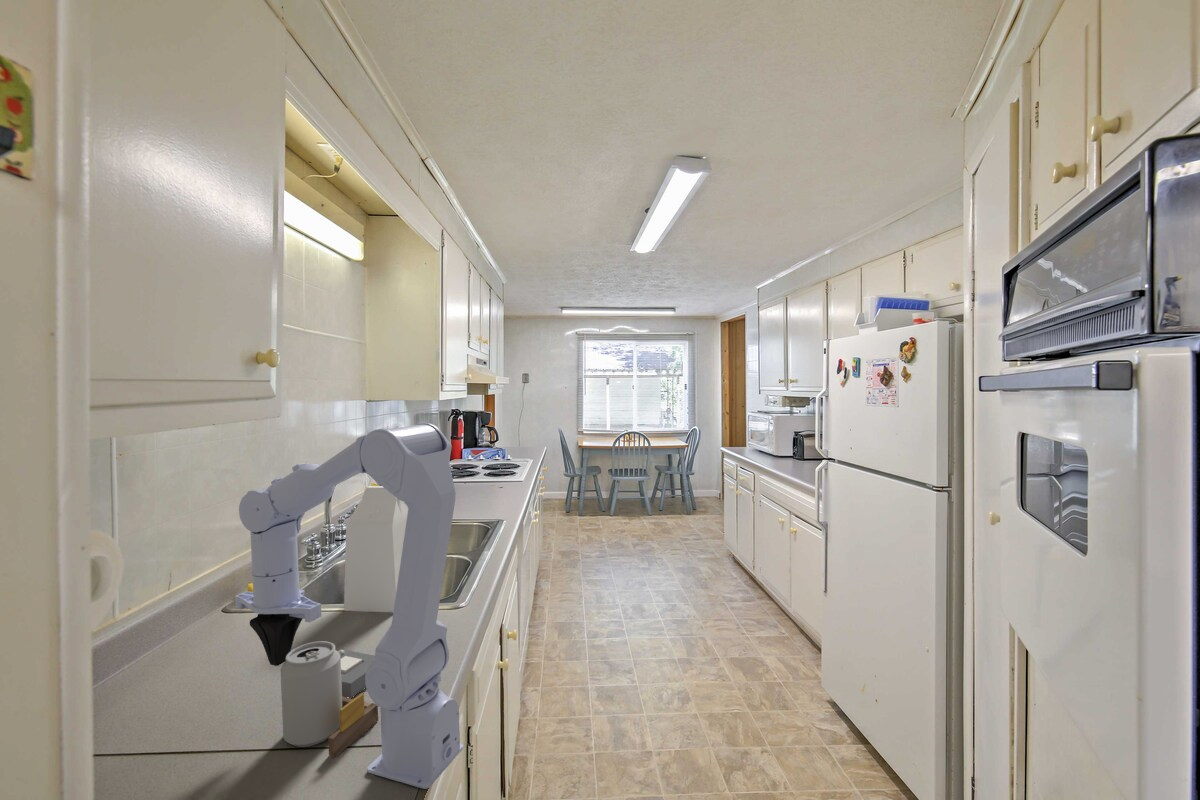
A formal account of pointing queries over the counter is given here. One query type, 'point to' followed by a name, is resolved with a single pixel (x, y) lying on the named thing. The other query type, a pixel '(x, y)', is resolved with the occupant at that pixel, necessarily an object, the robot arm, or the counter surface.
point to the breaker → (349, 664)
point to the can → (311, 693)
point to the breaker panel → (355, 673)
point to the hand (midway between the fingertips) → (279, 661)
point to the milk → (374, 551)
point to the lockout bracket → (352, 723)
